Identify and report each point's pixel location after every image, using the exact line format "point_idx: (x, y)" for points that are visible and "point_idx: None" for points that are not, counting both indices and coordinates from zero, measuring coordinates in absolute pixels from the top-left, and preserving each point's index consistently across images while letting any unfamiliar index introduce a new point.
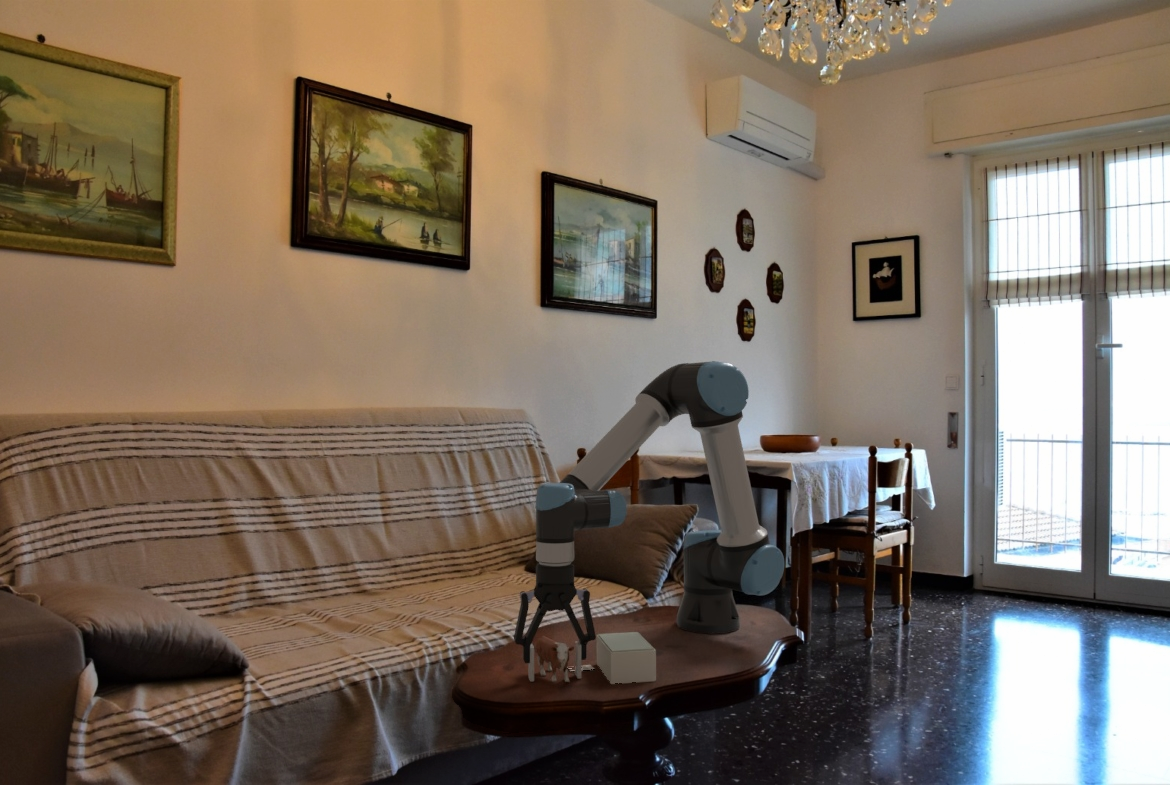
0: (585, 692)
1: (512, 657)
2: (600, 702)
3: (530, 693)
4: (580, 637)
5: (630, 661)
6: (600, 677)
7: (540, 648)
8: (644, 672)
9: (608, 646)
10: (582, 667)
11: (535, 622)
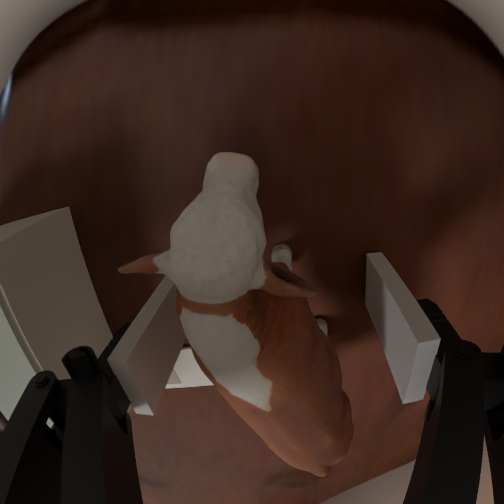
0: (152, 110)
1: (372, 448)
2: (111, 12)
3: (390, 116)
4: (93, 393)
5: None
6: (107, 283)
7: (343, 405)
8: None
9: (11, 328)
10: (173, 372)
11: (467, 497)
